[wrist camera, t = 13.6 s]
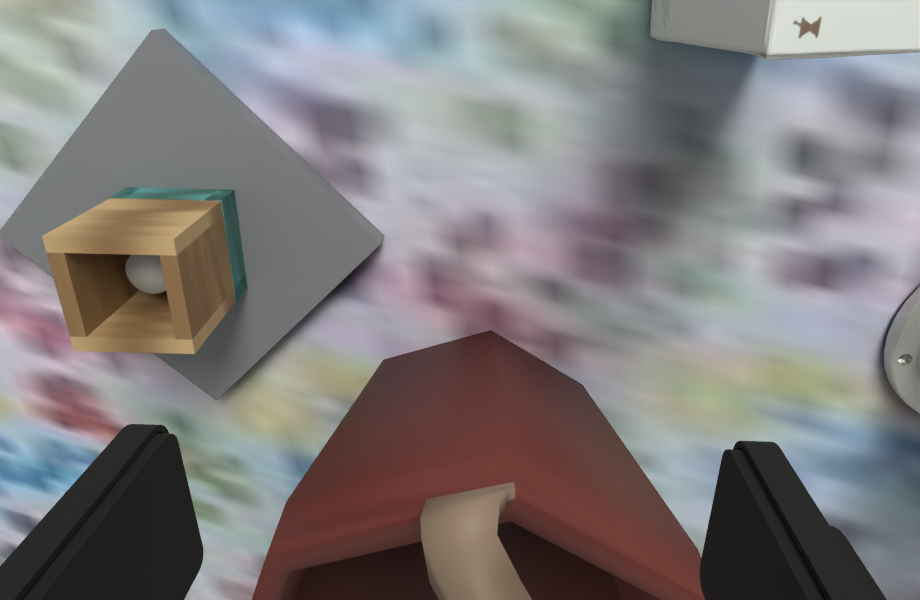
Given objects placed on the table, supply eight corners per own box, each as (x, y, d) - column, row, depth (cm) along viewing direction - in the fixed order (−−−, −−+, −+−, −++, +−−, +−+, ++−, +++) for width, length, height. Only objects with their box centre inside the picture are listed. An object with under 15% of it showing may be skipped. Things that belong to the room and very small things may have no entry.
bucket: (384, 229, 39) (257, 558, 16) (708, 344, 42) (986, 759, 19) (287, 514, 49) (125, 964, 26) (553, 591, 52) (615, 1054, 29)
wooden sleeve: (234, 189, 36) (174, 238, 29) (247, 287, 39) (195, 354, 32) (127, 187, 36) (40, 235, 29) (147, 285, 39) (73, 351, 32)
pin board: (384, 235, 39) (367, 278, 33) (224, 387, 44) (185, 448, 38) (164, 28, 34) (99, 35, 28) (13, 226, 39) (-69, 267, 33)
